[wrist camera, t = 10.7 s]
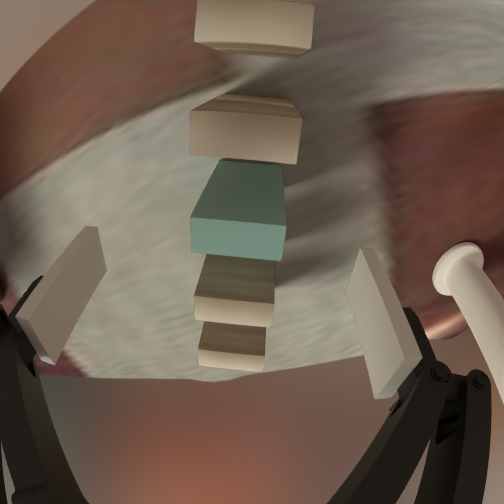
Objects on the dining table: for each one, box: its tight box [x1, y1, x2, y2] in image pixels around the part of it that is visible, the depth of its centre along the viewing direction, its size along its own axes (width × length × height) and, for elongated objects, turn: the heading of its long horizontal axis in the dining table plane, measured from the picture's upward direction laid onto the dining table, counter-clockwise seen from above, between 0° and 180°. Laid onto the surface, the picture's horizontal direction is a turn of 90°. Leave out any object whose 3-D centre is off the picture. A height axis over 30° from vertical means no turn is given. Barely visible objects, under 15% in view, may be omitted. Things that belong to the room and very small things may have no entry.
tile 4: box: [194, 254, 274, 327], centre depth 23 cm, size 2×5×10 cm, turn 86°
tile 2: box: [190, 94, 302, 164], centre depth 17 cm, size 2×5×10 cm, turn 86°
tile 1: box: [194, 0, 315, 59], centre depth 14 cm, size 2×5×10 cm, turn 86°
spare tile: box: [190, 160, 287, 261], centre depth 20 cm, size 2×5×10 cm, turn 86°
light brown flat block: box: [198, 321, 266, 372], centre depth 26 cm, size 2×5×10 cm, turn 86°
